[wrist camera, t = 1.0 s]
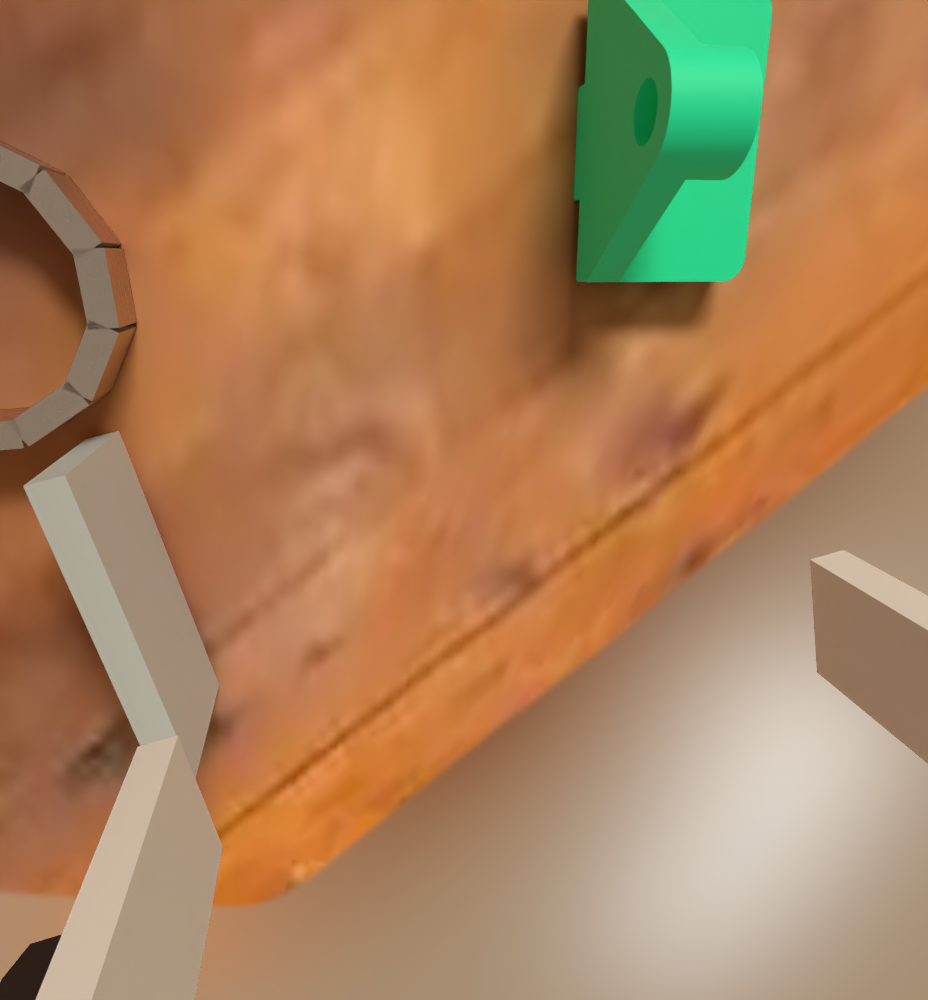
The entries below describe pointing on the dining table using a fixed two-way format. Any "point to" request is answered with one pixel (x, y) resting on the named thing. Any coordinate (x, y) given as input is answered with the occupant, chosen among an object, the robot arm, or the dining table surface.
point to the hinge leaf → (127, 591)
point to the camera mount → (668, 138)
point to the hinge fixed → (99, 289)
